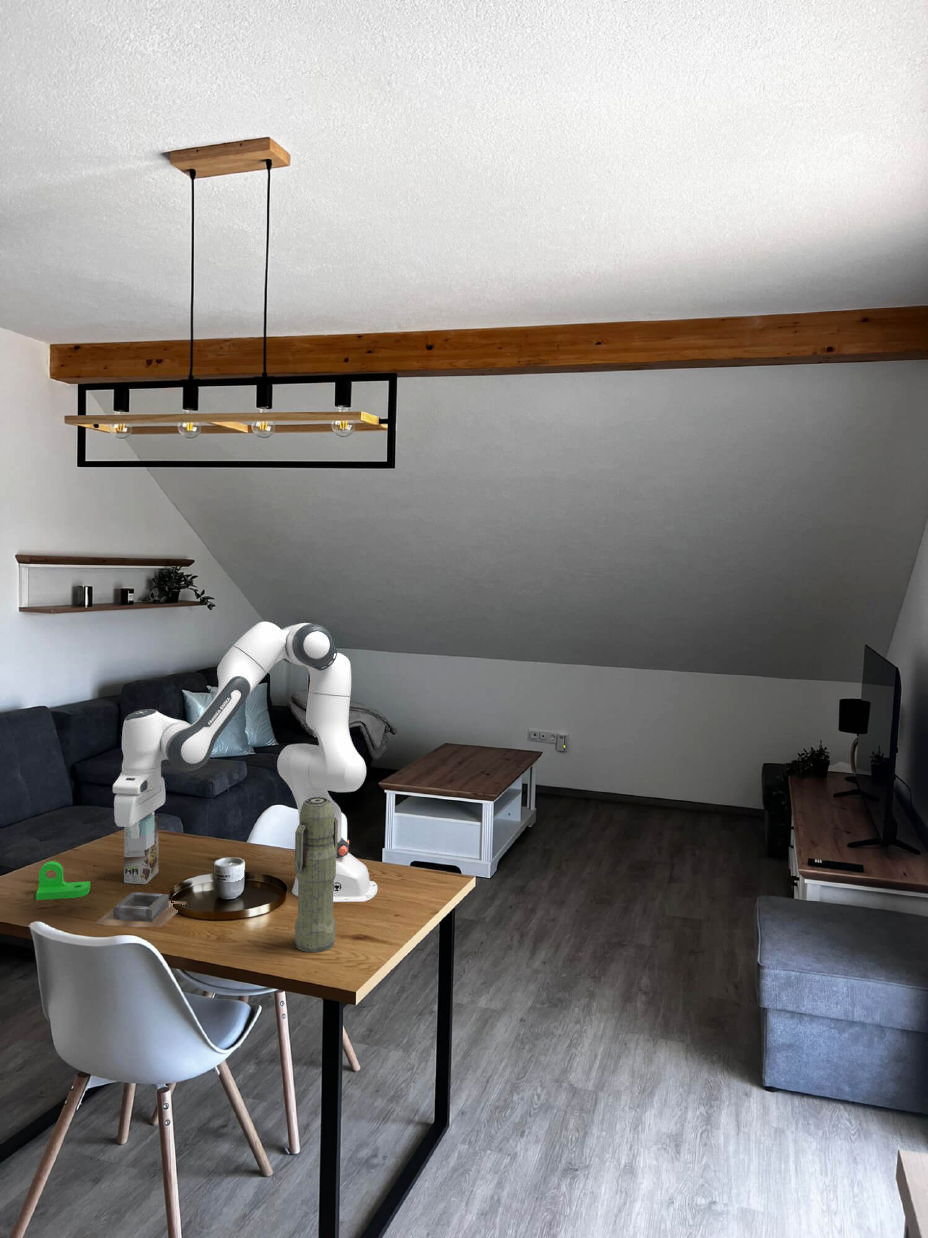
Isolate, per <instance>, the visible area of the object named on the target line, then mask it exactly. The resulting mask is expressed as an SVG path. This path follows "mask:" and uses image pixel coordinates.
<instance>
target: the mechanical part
mask: <svg viewBox="0 0 928 1238" xmlns="http://www.w3.org/2000/svg"><path fill="white" fill-rule="evenodd" d="M49 871H53V872H54V873H55V874H56V876H54V877H49V876H48V875H47V872H49ZM90 890H91V881H75V882H66V881H65V879H64V867H63V866H62V864H61V863H59V862H58V861H54V860H51V861H48V862H47V861H46V862H45V863H44V864H42V866H41V868H40V869H39V873H38V889H37V891H36V893H35V900H36V901H42V900H59V899H75V898H81V897H85V896H87V895H88V894H89V892H90Z"/></svg>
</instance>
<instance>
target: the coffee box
mask: <svg viewBox="0 0 928 1238" xmlns="http://www.w3.org/2000/svg"><path fill="white" fill-rule="evenodd" d="M123 829H124V833H123V838H124V839H123V844H124V845H123V849H124V850H123V858H124V859H123V883H124V884H133V885H134V884H138V885H147V884H148V883H150V881H151V880H152V879H153V878H154V877H155V876H156V875H157V874H158V873H159V815H155V814H154V844H153V845H152V846H151V847H149V848H148V849H147V850H139V849H128V827H124V828H123Z"/></svg>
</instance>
